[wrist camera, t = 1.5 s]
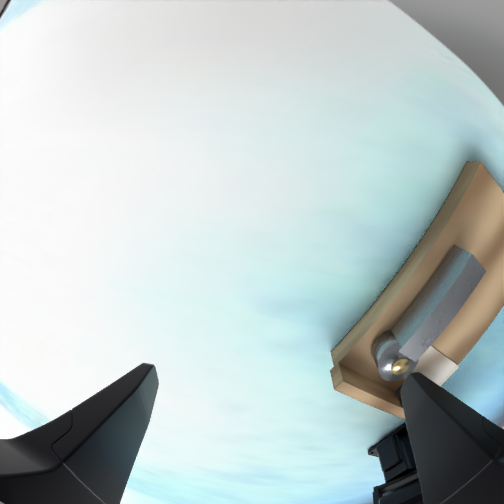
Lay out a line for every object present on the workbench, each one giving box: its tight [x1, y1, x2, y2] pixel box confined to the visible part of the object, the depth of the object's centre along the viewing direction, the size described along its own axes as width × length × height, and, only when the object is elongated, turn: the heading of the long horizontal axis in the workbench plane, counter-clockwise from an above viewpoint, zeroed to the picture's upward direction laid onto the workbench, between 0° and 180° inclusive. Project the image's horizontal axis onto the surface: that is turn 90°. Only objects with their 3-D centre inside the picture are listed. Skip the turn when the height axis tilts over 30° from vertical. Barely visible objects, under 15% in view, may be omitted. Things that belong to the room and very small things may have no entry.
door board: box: [330, 161, 504, 419], centre depth 18 cm, size 12×20×4 cm, turn 147°
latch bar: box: [371, 245, 486, 381], centre depth 17 cm, size 11×3×3 cm, turn 147°
